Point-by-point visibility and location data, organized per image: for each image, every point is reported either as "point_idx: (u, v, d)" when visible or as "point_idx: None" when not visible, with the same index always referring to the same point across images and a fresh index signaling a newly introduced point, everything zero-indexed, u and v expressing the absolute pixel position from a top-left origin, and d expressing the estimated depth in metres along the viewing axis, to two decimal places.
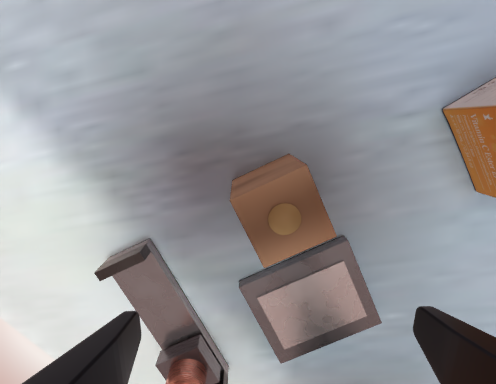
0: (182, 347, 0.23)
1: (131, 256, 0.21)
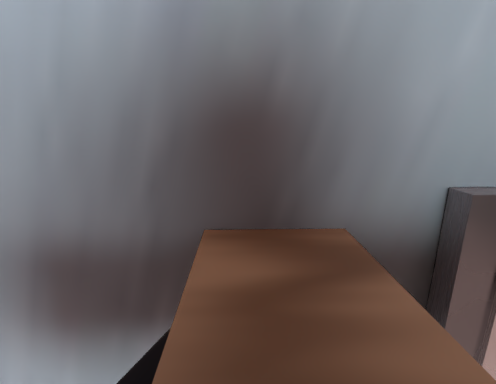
0: None
1: None
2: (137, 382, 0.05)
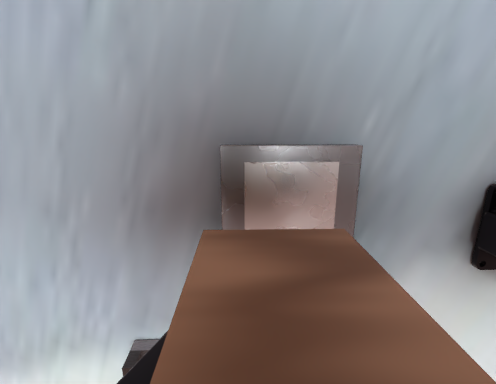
0: None
1: None
2: (137, 382, 0.05)
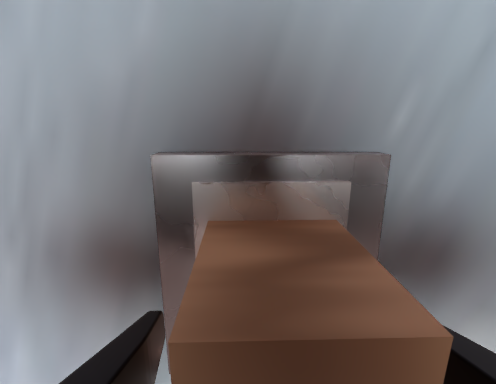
0: None
1: None
2: (78, 383, 0.05)
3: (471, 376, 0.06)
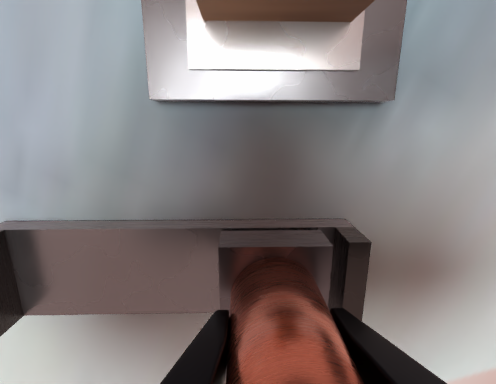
0: None
1: None
2: (181, 381, 0.05)
3: (378, 378, 0.06)
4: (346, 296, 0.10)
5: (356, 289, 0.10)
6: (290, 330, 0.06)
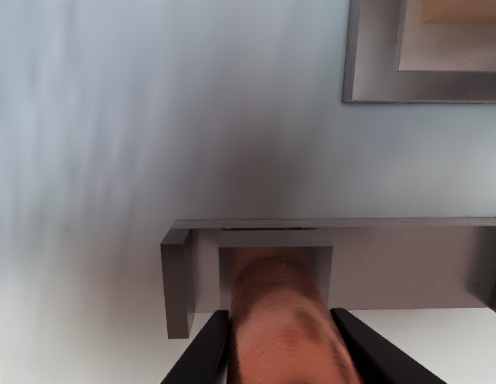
0: None
1: (164, 262, 0.10)
2: (181, 381, 0.05)
3: (378, 378, 0.06)
4: None
5: None
6: (290, 330, 0.06)
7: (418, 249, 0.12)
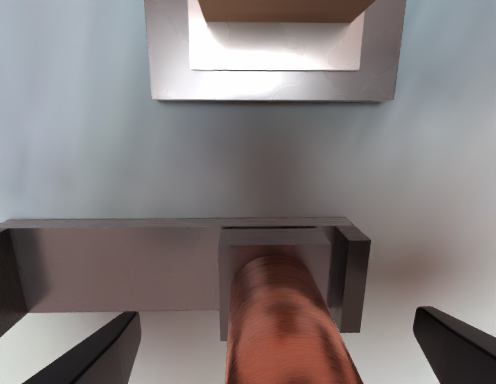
0: None
1: None
2: None
3: None
4: (346, 294, 0.10)
5: (356, 287, 0.10)
6: (288, 325, 0.06)
7: None
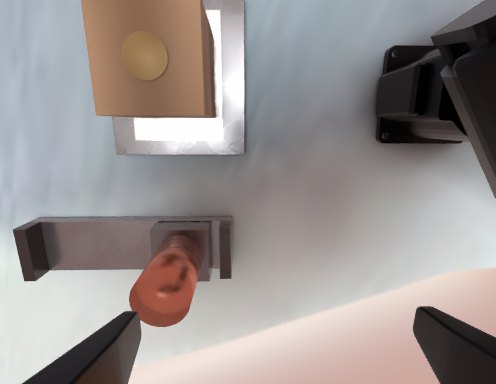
0: None
1: (16, 239, 0.19)
2: None
3: None
4: (220, 256, 0.20)
5: (226, 253, 0.20)
6: (163, 259, 0.15)
7: None
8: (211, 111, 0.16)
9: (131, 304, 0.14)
